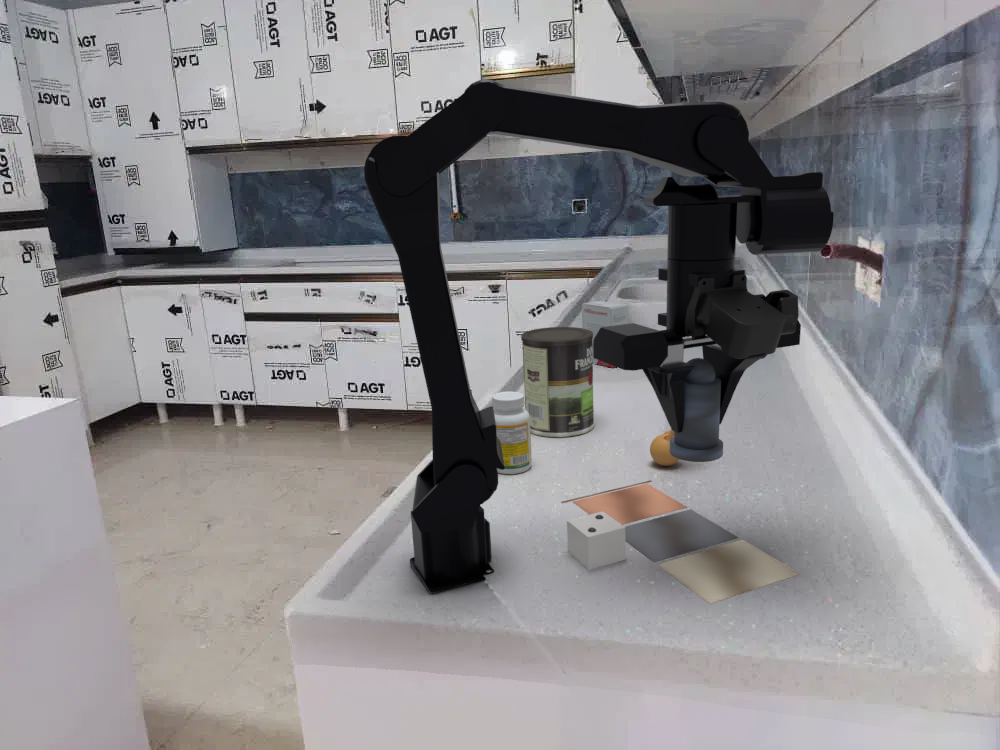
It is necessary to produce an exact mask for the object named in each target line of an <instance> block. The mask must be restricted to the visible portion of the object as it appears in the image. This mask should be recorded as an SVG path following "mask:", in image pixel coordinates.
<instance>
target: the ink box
mask: <svg viewBox="0 0 1000 750" xmlns="http://www.w3.org/2000/svg"><path fill="white" fill-rule="evenodd" d="M581 320H582V322H581V323H582V324H581V325H582V327H581V328H583V329H587V330H590V331H592V332H593V338H592V354H593V340H594V338H595V336H596V334H597V333H598V331H599V329H600V328H601V327H607V326H615V325H623V324H629V305H628V304H625V303H624V304H623V303H616V302H610V301H603V300H601V301H600V300H599V301H598V300H597V301H589V302H583V303H582V304H581ZM593 363H595V364H594V365H597V364H599V365H598V366H602V367H607V368H611V369H613V368H616V367H615V366H613V365H610V364H608V363H605V362H603V361H600V360H598V359H595V358H593Z"/></svg>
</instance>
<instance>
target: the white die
mask: <svg viewBox="0 0 1000 750" xmlns="http://www.w3.org/2000/svg"><path fill="white" fill-rule="evenodd" d="M566 529H567V530H566V532H567V533H566V536H567V538H566V539H567V553H569V554H570V555H571V556H572V557H574V558H575V559H576V560H577V561H578V562H579V563H580V564H581V565H583V566H584V567H585V568H586V569H587V570H588V571H590V570H594V569H597V568H601V567H604V566H608V565H611V564H615V563H619V562H623V561H625V560H626V559H627V558H626V548H627V547H626V541H625V525H624V524H623V525H621V524H620V523H618V522H617V521H616V520H614V519H613V518H611V517H610V516H609V515H607V514H606V513H604V512H603V511H602V512H598V513H594V514H586V515H583V516H579V517H575V518H571V519H567V520H566Z"/></svg>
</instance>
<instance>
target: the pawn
mask: <svg viewBox="0 0 1000 750" xmlns="http://www.w3.org/2000/svg"><path fill="white" fill-rule="evenodd" d="M686 363H688V364H691V365H694V367H693V369H692V370H691V372H690V373H689V374H688V376H687V377H686V379H685V394H684V421H683V428H682V432H680V433H677V432H675V431H674V437H673V438H671V439H670V454H671V455H672V456H674V457H676V458H678V459H679V460H681V461H685V462H690V463H691V462H692V463H707V462H712V461H716V460H719V459H720V458H722V457H723V455H724V442H723V441H722V440H721V439H720V425H719V422H720V394H721V380H720V379H719V378H717V377H715V369H714V367H713V365H712V364H711V363H710V362H709V361H707V360H705V359H703V357H701V358H700V357H695V358H691V359H690V360H688V361H686Z"/></svg>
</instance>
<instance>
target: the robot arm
mask: <svg viewBox="0 0 1000 750" xmlns="http://www.w3.org/2000/svg"><path fill="white" fill-rule="evenodd" d="M748 127H749V126H748V124H747V121H746V120H745V118H744V116H743V115H742V113H741V110H740V109H739V108H738V107H736V106H735V105H732V104H730V103H727V102H724V101H702V102H700V101H698V102H677V103H665V104H654V105H652V104H651V105H650V104H649V105H636V104H635V105H634V104H627V103H621V102H615V101H614V102H613V101H609V100H603V99H602V100H601V99H595V98H587V97H583V96H577V95H569V94H564V93H563V94H562V93H555V92H549V91H542V90H537V89H530V88H523V87H518V86H511V85H506V84H505V85H504V84H501V83H499V82H497V81H495V80H492V79H479V80H477V81H475V82H472V83H471V84H470V85H469V86H468V87H466V89H465V90H464V92H463V93H462V94H460V96H458V97H457V98H456V99H455V100H453V101H452V102H451V103H449V104H448V105H447V106H445V107H444V108H442V109H441V110H440V111H438V112H437V113H436V114H434V115H433V116H432V117H430V118H429V119H427V120H426V121H425V122H423V123H422V124H421V125H419V126H418V127H417V128H415V130H413V131H412V132H411V133H410V134H409V135H392V136H388V137H386V138H383V139H381V140H380V141H379V142H378V143H376V144H375V145H374V146H373V147H372V149H371V150H370V152H369V153H368V155H367V158H366V159H365V161H364V167H363V173H364V174H363V175H364V176H363V177H364V181H365V184H366V185H365V186H366V188H367V190H368V193H369V195H370V197H371V199H372V201H373V205H374V207H375V209H376V211H377V214H378V217H379V219H380V221H381V224H382V226H383V228H384V230H385V232H386V234H387V235H388V238H389V240H390V242H391V244H392V246H393V248H394V251H395V253H396V255H397V259H398V262H399V266H400V272H401V275H402V281H403V285H404V290H405V293H406V294H405V295H406V299H407V302H408V303H407V304H408V307H409V311H410V312H409V313H410V316H411V321H412V326H413V330H414V335H415V340H416V343H417V344H416V345H417V348H418V351H419V357H420V362H421V366H422V367H421V368H422V371H423V375H424V379H425V385H426V388H427V393H428V397H429V402H430V406H431V407H430V408H431V423H432V424H431V436H432V437H431V438H432V439H431V441H432V442H431V443H432V460H430V462H428V463H427V464H426V466H425V467H424V468H423V469H422V470H421V471H420V472H419V473H418V474H417V475H416V480H415V481H416V482H415V487H414V496H413V501H412V503H413V504H412V509H411V511H410V520H411V521H410V522H411V532H412V533H411V534H412V546H413V554H414V555H413V557H411V558H409V565H410V567H411V568H412V570H413V572H415V574H416V576H417V577H418V578H419V580H420V581H421V582H422V583H421V584H423V586H424V588H426V590H427V592H428V593H432V594H434V593H438V592H441V591H445V590H449V589H452V588H457V587H461V586H465V585H468V584H471V583H474V582H478V581H482V580H485V579H486V577H485V576H488V575H492V574H494V573H495V569H494V568H493V567H492V565H490V562H491V561H492V542H491V541H492V539H491V522H490V521H489V520H488V519H487V518H485V509H484V508H483V507H482V506H481V505H483V504H484V503H485V502H487V501H488V500H489V499H491V498H492V496H493V495H494V493H495V492H496V491H497V489H498V485H499V473H498V469H501V470H504V469H505V466H504V460H503V453H502V447H501V442H500V440H499V439H498V438H497V433H496V422H495V416H494V408H493V405H491V406H488V407H485V408H483V409H479V406H478V404H477V402H476V400H475V398H474V396H473V394H472V390H471V387H470V381H469V377H468V372H467V368H466V361H465V358H464V352H463V347H462V343H461V338H460V334H459V328H458V322H457V317H456V314H455V308H454V304H453V299H452V294H451V289H450V284H449V280H448V279H449V278H448V275H447V270H446V269H447V268H446V266H445V261H444V260H445V259H444V256H443V250H442V245H441V244H442V243H441V240H442V239H441V238H442V237H441V199H440V197H441V196H440V175H441V174H442V173H443V172H444V171H446V170H447V169H448V168H449V167H451V166H452V165H454V164H455V162H457V161H458V160H459V159H460V158H462V157H463V156H464V155H465V154H467V153H468V152H469V151H470V150H471V149H472V148H473V147H475V146H476V145H478V144H479V143H480V142H482V140H484V139H485V138H486V137H487V136H489V135H499V136H504V137H512V138H519V139H525V140H526V139H527V140H534V141H540V142H544V143H545V142H548V143H552V144H561V145H568V146H574V147H581V148H588V149H594V150H601V151H608V152H614V153H620V154H624V155H627V156H629V157H631V158H635V159H637V160H640V161H642V162H644V163H646V164H649V165H651V166H654V167H656V168H660V169H663V170H666V171H668V172H672V173H674V174H677V175H680V176H683V177H703V178H704V179H705V180H707V181H708V182H710V183H711V184H710V183H701V184H700V183H699V184H678V182H677V181H676V180H675V179H674V178H673V176H662V177H661V179H660V181H659V182H658V185H656V187H655V188H654V189H653V190H652V191H650V193H649V194H647V195H646V196H645V197H644V198H643V203H644V205H646V206H652V207H667V249H666V250H667V251H666V252H667V255H666V257H667V258H666V259H667V260H666V263H667V264H666V267H661V268H658V269H657V270H658V275H657V278H658V279H657V280H658V281H663V282H666V311H665V312H661V313H657V325H658V326H662V327H665V328H666V329H660V330H658V329H656V328H653V327H652V328H651V327H649V326H645V325H641V324H637V323H634V322H632V323H628V324H623V325H615V326H607V327H601V328H600V329H599V331H598V333H597V334H596V336H595V338H594V340H593V358H595V359H598V360H600V361H603V362H605V363H608V364H610V365H613V366H615V367H614V368H618V369H621V370H623V371H634V372H635V371H639V370H642V371H643V373H644V375H645V376H646V378H647V380H648V382H649V383H650V385H651V387H652V389H653V392H654V394H655V395H656V398H657V399H658V402H659V405H660V407H661V409H662V411H663V413H664V416H665V417H666V419H667V422H668V425H669V426H670V427H669V428H670V430H671V429H672V430H673V431H675V432H677V433H680V432H682V428H683V421H684V394H685V379H686V377H687V376H688V374H689V373H690V372H691V370H692V369H693V367H694V365H691V364H688V363H687V362H685V361H684V352H685V349H691V348H692V349H693V348H699V347H702V359H705V360H707V361H709V362H710V363H711V364H712V365H713V367H714V369H715V377H717V378H719V379H720V380H721V394H720V422H719V426H720V425H721V424H722V423H723V420H724V418H725V415H726V413H727V411H728V408H729V406H730V403H731V401H732V399H733V396H734V394H735V392H736V389H737V387H738V385H739V383H740V381H741V378H742V377H743V375H744V373H745V372H746V371H747V369H748V368H749V367H750V366H752V365H754V364H755V363H756V362H758V361H759V360H762V359H765V358H766V357H767V356H768V355H772V354H774V353H776V350H777V349H780V348H787V347H795V346H800V345H801V344H800V343H801V330H802V329H801V328H802V325H801V322H800V321H799V317H800V316H799V315H800V314H799V296H798V295H796V293H794V292H792V291H790V290H789V289H780V290H774V291H773V290H772V291H769V292H768V294H767V295H765V294H764V293H760V294H753V293H752V292H749V291H748V286H747V279H748V277H747V275H746V270H745V269H741V268H736V246H737V244H736V243H737V242H739V244H743V245H744V244H745V246H746V249H747V250H748V252H749V253H750V254H752V255H754V256H755V255H779V254H781V255H782V254H797V253H799V254H800V253H801V254H802V253H818V252H821V251H822V250H824V248H825V247H826V246H827V244H828V242H829V240H830V238H831V235H832V232H833V226H834V218H835V217H834V216H835V215H834V211H832V207H831V201H830V197H829V194H828V193H827V190H826V189H825V188H824V187H823V180H824V177H823V176H824V174H823V173H822V172H821V171H813V172H812V171H809V172H797V173H794V174H789V175H773V174H772V172H771V171H770V169H769V168H768V167H767V165H766V164H765V163H764V160H763V159H762V158H761V156H760V155H759V153H758V151H756V149H755V148H754V146H753V145H752V143H751V142H750V140H749V138H750V133H749V132H750V131H749V128H748ZM712 184H713V185H714V186H716V187H720V188H721V187H725V188H726V187H729V188H733V187H734V188H740V194H738V195H718V192H717V190H716V188H715V187H714V186H713V185H712ZM497 468H498V469H497Z"/></svg>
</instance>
